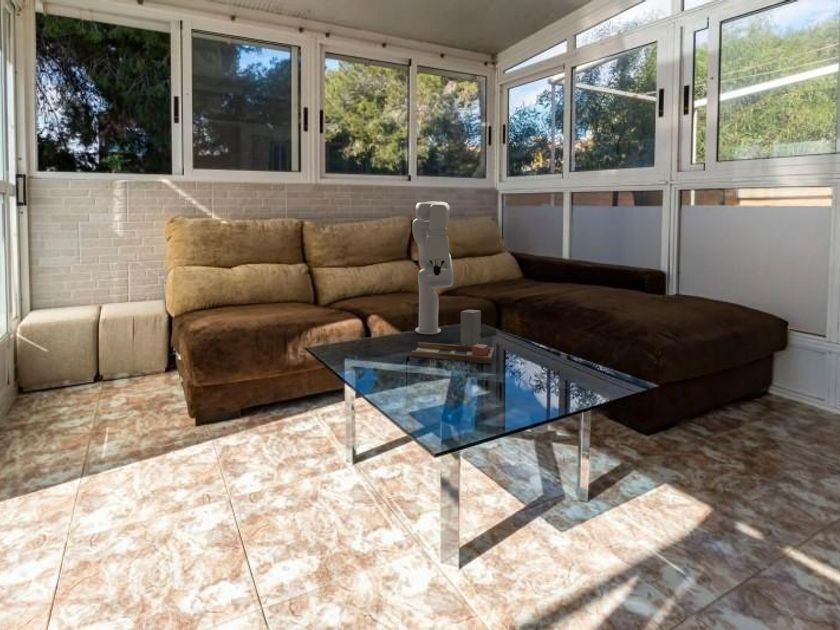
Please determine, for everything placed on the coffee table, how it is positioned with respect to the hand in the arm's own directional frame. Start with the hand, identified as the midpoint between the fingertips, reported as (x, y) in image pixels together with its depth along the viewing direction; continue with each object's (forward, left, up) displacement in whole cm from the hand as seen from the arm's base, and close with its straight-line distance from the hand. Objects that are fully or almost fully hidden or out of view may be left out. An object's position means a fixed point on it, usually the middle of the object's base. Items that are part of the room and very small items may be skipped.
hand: (436, 275), depth 244 cm
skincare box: (-6, +15, -32) cm, 36 cm away
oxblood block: (+15, +22, -32) cm, 41 cm away
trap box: (+13, +10, -32) cm, 36 cm away
